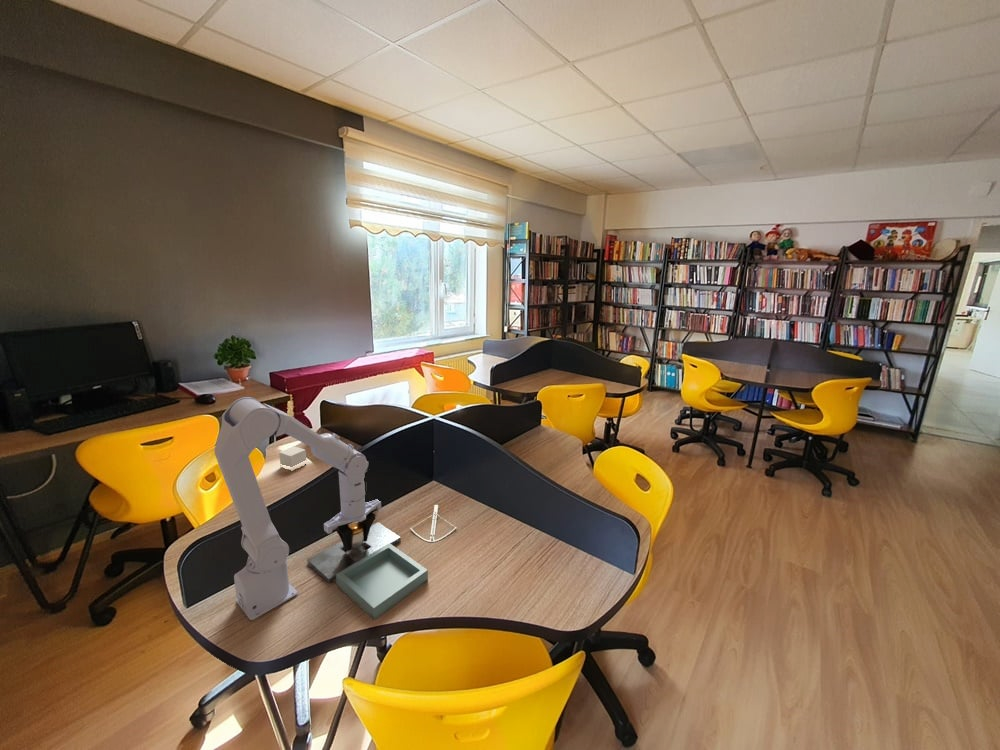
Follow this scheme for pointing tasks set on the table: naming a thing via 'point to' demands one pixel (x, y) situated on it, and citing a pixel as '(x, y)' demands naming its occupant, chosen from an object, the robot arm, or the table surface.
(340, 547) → the bracket
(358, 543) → the orange-capped cylinder
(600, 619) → the table surface
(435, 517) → the crossbow
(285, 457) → the light grey cube
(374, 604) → the tray
